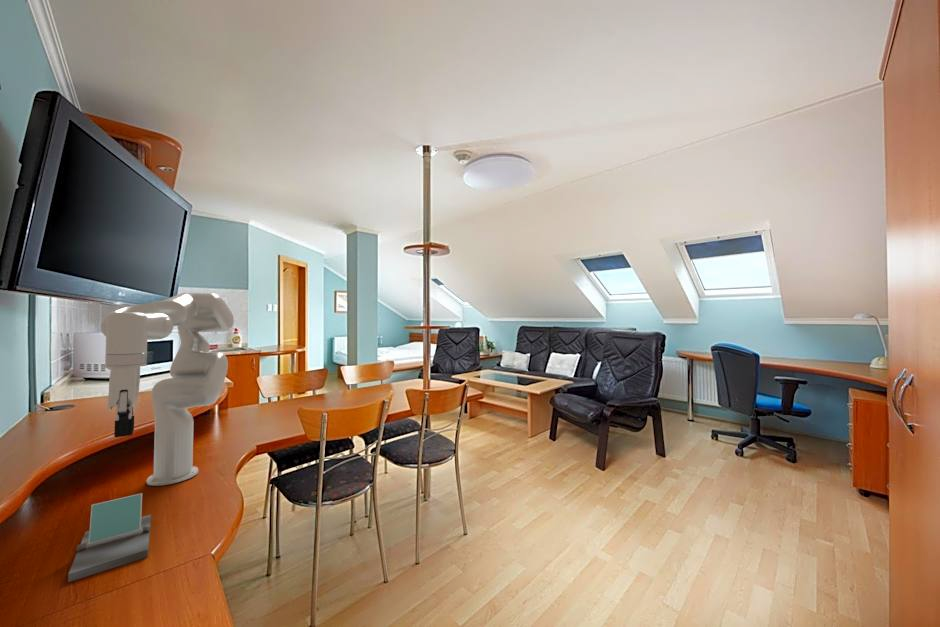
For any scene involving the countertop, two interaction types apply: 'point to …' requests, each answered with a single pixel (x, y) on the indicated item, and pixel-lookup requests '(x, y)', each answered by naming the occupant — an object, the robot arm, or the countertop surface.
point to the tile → (115, 517)
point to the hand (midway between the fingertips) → (124, 433)
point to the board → (110, 551)
